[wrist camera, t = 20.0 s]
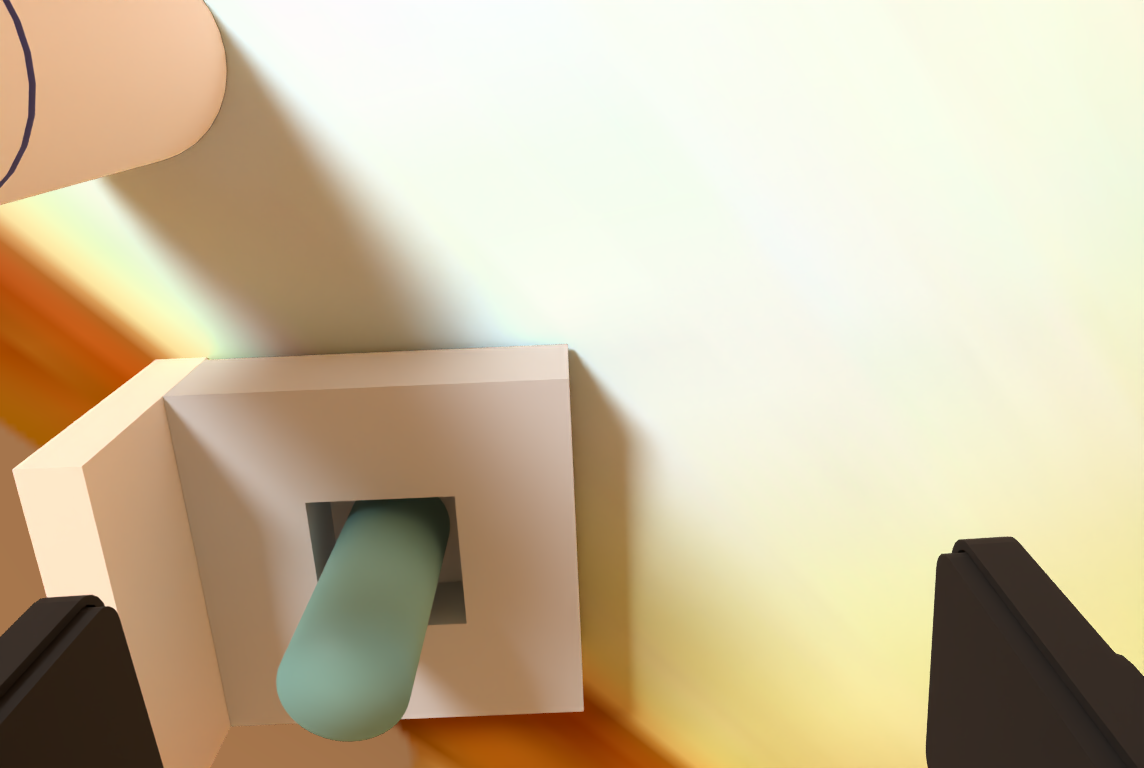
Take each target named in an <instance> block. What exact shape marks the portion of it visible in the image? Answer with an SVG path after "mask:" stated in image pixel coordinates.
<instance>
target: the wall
mask: <svg viewBox="0 0 1144 768" xmlns="http://www.w3.org/2000/svg"><path fill="white" fill-rule="evenodd" d="M204 360H208V358H207V357H204V358H181V359H158V360H155V361H154V362H152V363H151V364H150V365H148V366H147V367H146V368H144V369H143V370H142V371H140V372H139V373H138V374H137V375H135V376H134V377H133V378H131V379H130V380H129V381H127V382H126V383H125V384H123V385H122V386H121V387H119V388H118V389H117V390H116V391H114V392H113V393H112V394H110V395H109V396H108V397H106V398H105V399H104V400H102V401H101V402H100V403H99V404H97V405H96V406H95V407H93V408H92V409H91V410H89V411H88V412H87V413H85V414H84V415H83V416H82V417H80V418H79V419H78V420H76V421H75V422H74V423H72V424H71V425H70V426H68V427H67V428H66V429H65V430H63V431H62V432H61V433H59V434H58V435H57V436H55V437H54V438H53V439H51V440H50V441H49V442H48V443H46V444H45V445H44V446H42V447H41V448H40V449H38V450H37V451H36V452H34V453H33V454H32V455H31V456H29V457H28V458H27V459H25V460H24V461H23V462H21V463H20V464H19V465H17V466H16V467H15V468H14V469H12V471H13V475H14V479H15V482H16V486H17V490H18V493H19V497H20V501H21V504H22V508H23V511H24V515H25V519H26V522H27V526H28V529H29V533H30V537H31V541H32V544H33V548H34V552H35V555H36V559H37V563H38V566H39V570H40V573H41V577H42V581H43V584H44V588H45V592H46V595H47V597H63V596H78V595H94V596H97V597H99V598H100V599H101V600H102V602H103V603H104V605H105V606H110V607H112V608H114V609H115V610H116V611H117V613H118V615H119V618H120V621H121V624H122V627H123V631H124V634H125V638H126V641H127V644H128V648H129V651H130V655H131V658H132V661H133V665H134V668H135V672H136V675H137V678H138V682H139V685H140V689H141V692H142V695H143V699H144V702H145V706H146V709H147V712H148V716H149V719H150V723H151V726H152V729H153V733H154V736H155V739H156V743H157V746H158V750H159V753H160V756H161V760H162V763H163V767H164V768H211V766H212V764H213V762H214V760H215V758H216V756H217V754H218V751H219V750H220V747H221V745H222V743H223V741H224V739H225V737H226V735H227V733H228V731H229V729H230V727H231V724H230V719H229V714H228V709H227V704H226V700H225V695H224V690H223V685H222V680H221V675H220V670H219V666H218V661H217V656H216V651H215V646H214V641H213V637H212V632H211V627H210V622H209V617H208V612H207V608H206V603H205V598H204V593H203V588H202V583H201V578H200V574H199V569H198V564H197V559H196V554H195V549H194V545H193V540H192V535H191V530H190V525H189V520H188V516H187V511H186V506H185V501H184V496H183V491H182V486H181V482H180V477H179V472H178V467H177V462H176V457H175V453H174V448H173V443H172V438H171V433H170V428H169V423H168V419H167V414H166V409H165V404H164V399H163V396H164V395H165V394H166V393H167V392H169V391H170V390H171V389H172V388H173V387H174V386H175V385H177V384H178V383H179V382H180V381H181V380H182V379H183V378H185V377H186V376H187V375H188V374H189V373H190V372H191V371H193V370H194V369H195V368H196V367H197V366H198V365H200V364H201V363H202V362H203V361H204Z"/></svg>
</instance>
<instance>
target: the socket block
mask: <svg viewBox="0 0 1144 768" xmlns="http://www.w3.org/2000/svg"><path fill="white" fill-rule="evenodd" d="M163 399H164V404H165V409H166V414H167V419H168V423H169V428H170V433H171V438H172V443H173V448H174V453H175V457H176V462H177V467H178V472H179V477H180V482H181V486H182V491H183V496H184V501H185V506H186V511H187V516H188V520H189V525H190V530H191V535H192V540H193V545H194V549H195V554H196V559H197V564H198V569H199V574H200V578H201V583H202V588H203V593H204V598H205V603H206V608H207V612H208V617H209V622H210V627H211V632H212V637H213V641H214V646H215V651H216V656H217V661H218V666H219V670H220V675H221V680H222V685H223V690H224V695H225V700H226V704H227V709H228V714H229V719H230V724H231V726H254V725H277V724H298V723H296V722H295V721H294V720H293V719H292V718H291V717H290V716H289V714H288V713H287V712H286V710H285V709H284V707H283V706H282V704H281V701H280V699H279V696H278V692H277V686H276V677H277V672H278V668H279V665H280V663H281V661H282V658H283V656H284V654H285V652H286V650H287V648H288V645H289V643H290V641H291V639H292V637H293V635H294V632H295V630H296V628H297V626H298V624H299V622H300V619H301V617H302V615H303V613H304V611H305V609H306V606H307V604H308V602H309V600H310V598H311V596H312V593H313V591H314V589H315V587H316V585H317V583H318V581H319V578H320V576H321V574H322V572H323V570H324V568H325V565H326V563H327V561H328V559H329V557H330V555H331V552H332V550H333V548H334V546H335V544H336V542H337V539H338V537H339V535H340V533H341V531H342V529H343V526H344V524H345V522H346V520H347V518H348V516H349V513H350V511H351V509H352V507H353V505H354V503H355V501H356V500H379V499H402V498H425V497H439V498H440V499H441V501H442V502H443V504H444V505H445V507H446V509H447V512H448V515H449V519H450V533H449V538H448V542H447V546H446V550H445V555H444V559H443V563H442V567H441V571H440V576H439V580H438V584H437V588H436V592H435V597H434V601H433V605H432V609H431V613H430V618H429V622H428V626H427V630H426V634H425V639H424V643H423V647H422V651H421V655H420V659H419V664H418V668H417V672H416V676H415V680H414V685H413V689H412V693H411V697H410V701H409V705H408V707H407V710H406V712H405V714H404V715H403V717H402V718H401V719H418V718H441V717H464V716H488V715H511V714H534V713H558V712H581V711H584V701H583V674H582V648H581V625H580V603H579V581H578V559H577V537H576V515H575V493H574V471H573V449H572V427H571V405H570V383H569V360H568V344H555V345H532V346H509V347H486V348H463V349H440V350H417V351H394V352H372V353H349V354H326V355H303V356H280V357H257V358H234V359H211V360H204V361H203V362H202V363H201V364H200V365H198V366H197V367H196V368H195V369H194V370H193V371H191V372H190V373H189V374H188V375H187V376H186V377H185V378H183V379H182V380H181V381H180V382H179V383H178V384H177V385H175V386H174V387H173V388H172V389H171V390H170V391H169V392H167V393H166V394H165V395H164V396H163Z"/></svg>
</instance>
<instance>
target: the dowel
mask: <svg viewBox="0 0 1144 768" xmlns="http://www.w3.org/2000/svg"><path fill="white" fill-rule="evenodd" d="M449 533H450V519H449V515H448V512H447V509H446V507H445V505H444V504H443V502H442V501H441V499H440V498H439V497H425V498H402V499H379V500H356V501H355V503H354V505H353V507H352V509H351V511H350V513H349V516H348V518H347V520H346V522H345V524H344V526H343V529H342V531H341V533H340V535H339V537H338V539H337V542H336V544H335V546H334V548H333V550H332V552H331V555H330V557H329V559H328V561H327V563H326V565H325V568H324V570H323V572H322V574H321V576H320V578H319V581H318V583H317V585H316V587H315V589H314V591H313V593H312V596H311V598H310V600H309V602H308V604H307V606H306V609H305V611H304V613H303V615H302V617H301V619H300V622H299V624H298V626H297V628H296V630H295V632H294V635H293V637H292V639H291V641H290V643H289V645H288V648H287V650H286V652H285V654H284V656H283V658H282V661H281V663H280V665H279V668H278V672H277V677H276V686H277V692H278V696H279V699H280V701H281V704H282V706H283V707H284V709H285V710H286V712H287V713H288V714H289V716H290V717H291V718H292V719H293V720H294V721H295V722H296V723H298V724H299V725H300V726H301V727H303V728H305V729H306V730H308V731H309V732H311V733H313V734H316V735H318V736H321V737H323V738H327V739H331V740H336V741H362V740H367V739H370V738H373V737H376V736H379V735H381V734H383V733H385V732H386V731H388V730H390V729H391V728H392V727H393V726H395V725H396V724H397V723H398V722H399V720H400V719H401V718H402V717H403V715H404V714H405V712H406V710H407V707H408V705H409V701H410V697H411V693H412V689H413V685H414V680H415V676H416V672H417V668H418V664H419V659H420V655H421V651H422V647H423V643H424V639H425V634H426V630H427V626H428V622H429V618H430V613H431V609H432V605H433V601H434V597H435V592H436V588H437V584H438V580H439V576H440V571H441V567H442V563H443V559H444V555H445V550H446V546H447V542H448V538H449Z"/></svg>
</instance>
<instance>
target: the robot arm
mask: <svg viewBox="0 0 1144 768" xmlns="http://www.w3.org/2000/svg"><path fill="white" fill-rule="evenodd" d="M926 759H927V765H928V768H1144V676H1143V675H1142V674H1141V673H1140V672H1139V671H1138V669H1137V668H1136V667H1135V666H1134V665H1133V664H1132V663H1131V662H1129V661H1128V660H1127V659H1126V658H1125V657H1124V656H1122V655H1119V654H1116V653H1115V652H1114V651H1113V650H1112V649H1111V648H1110V647H1109V645H1108V644H1107V643H1106V642H1105V641H1104V640H1103V639H1102V637H1101V636H1100V635H1099V634H1098V633H1097V632H1096V630H1095V629H1094V628H1093V627H1092V626H1091V625H1090V624H1089V622H1088V621H1087V620H1086V619H1085V618H1084V617H1083V616H1082V614H1081V613H1080V612H1079V611H1078V610H1077V609H1076V607H1075V606H1074V605H1073V604H1072V603H1071V602H1070V601H1069V599H1068V598H1067V597H1066V596H1065V595H1064V594H1063V593H1062V591H1061V590H1060V589H1059V588H1058V587H1057V586H1056V584H1055V583H1054V582H1053V581H1052V580H1051V579H1050V578H1049V576H1048V575H1047V574H1046V573H1045V572H1044V571H1043V570H1042V568H1041V567H1040V566H1039V565H1038V564H1037V563H1036V561H1035V560H1034V559H1033V558H1032V557H1031V556H1030V555H1029V553H1028V552H1027V551H1026V550H1025V549H1024V548H1023V547H1022V545H1021V544H1020V543H1019V542H1018V541H1017V540H1016V539H1014V538H1013V537H994V538H978V539H962V540H958V541H957V542H956V543H955V545H954V547H953V550H952V553H949V554H941V555H940V556H939V558H938V561H937V567H936V583H935V600H934V616H933V633H932V650H931V667H930V684H929V701H928V718H927V735H926ZM0 768H164V767H163V763H162V760H161V756H160V753H159V750H158V746H157V743H156V739H155V736H154V733H153V729H152V726H151V723H150V719H149V716H148V712H147V709H146V706H145V702H144V699H143V695H142V692H141V689H140V685H139V682H138V678H137V675H136V672H135V668H134V665H133V661H132V658H131V655H130V651H129V648H128V644H127V641H126V638H125V634H124V631H123V627H122V624H121V621H120V618H119V615H118V613H117V611H116V610H115V609H114V608H112V607H110V606H105V605H104V603H103V602H102V600H101V599H100V598H99V597H97V596H94V595H78V596H63V597H47V598H42V599H39V600H38V601H37V602H36V603H34V604H33V605H32V606H31V607H30V608H29V609H28V610H27V611H26V612H25V613H24V614H23V615H22V616H21V617H20V618H19V619H18V620H17V621H16V622H15V623H14V624H13V625H12V626H11V627H10V628H9V629H8V630H7V631H6V632H5V633H4V634H3V635H2V636H1V637H0Z"/></svg>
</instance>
